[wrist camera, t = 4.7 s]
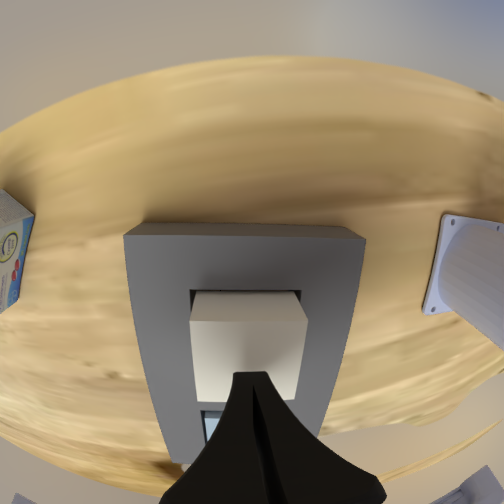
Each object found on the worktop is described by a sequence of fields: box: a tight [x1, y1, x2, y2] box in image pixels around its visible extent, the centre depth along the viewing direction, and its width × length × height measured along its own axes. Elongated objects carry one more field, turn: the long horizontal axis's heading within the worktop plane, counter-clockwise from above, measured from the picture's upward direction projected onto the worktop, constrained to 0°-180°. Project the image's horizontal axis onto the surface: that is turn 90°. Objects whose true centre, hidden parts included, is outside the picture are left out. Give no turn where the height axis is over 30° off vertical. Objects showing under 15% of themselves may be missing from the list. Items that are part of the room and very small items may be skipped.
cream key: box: [189, 291, 308, 402], centre depth 13 cm, size 5×5×3 cm
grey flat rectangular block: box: [123, 223, 366, 464], centre depth 17 cm, size 12×20×3 cm, turn 178°
